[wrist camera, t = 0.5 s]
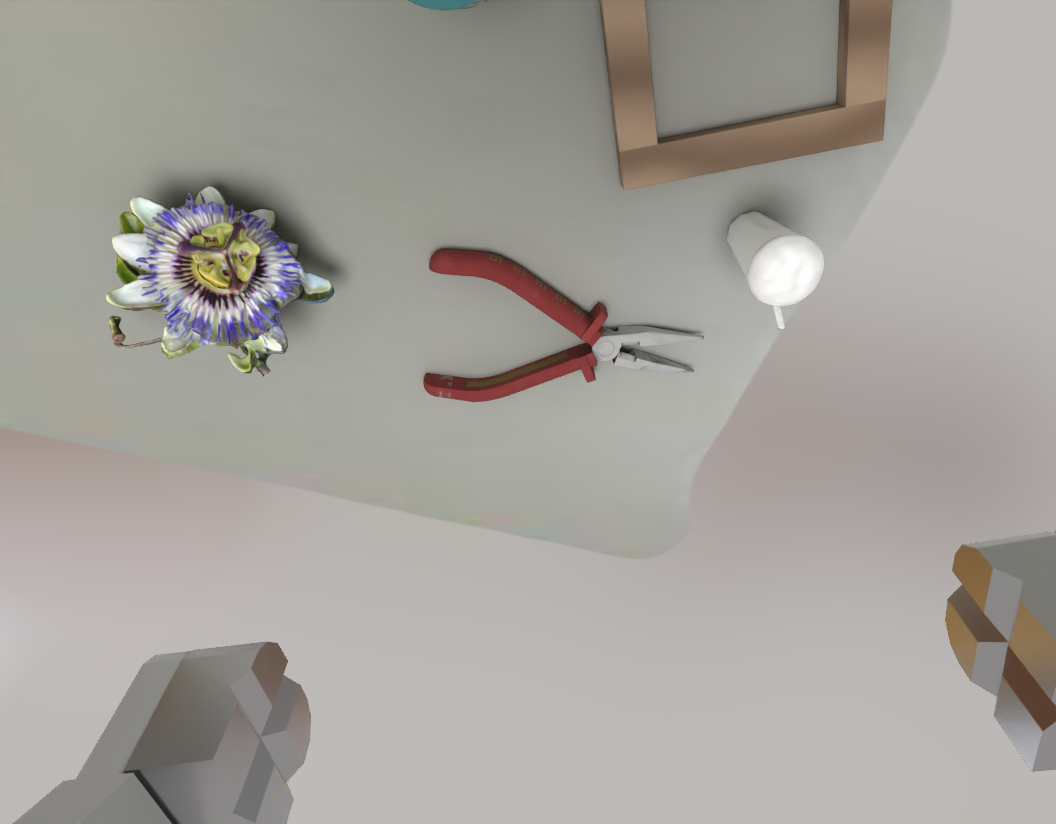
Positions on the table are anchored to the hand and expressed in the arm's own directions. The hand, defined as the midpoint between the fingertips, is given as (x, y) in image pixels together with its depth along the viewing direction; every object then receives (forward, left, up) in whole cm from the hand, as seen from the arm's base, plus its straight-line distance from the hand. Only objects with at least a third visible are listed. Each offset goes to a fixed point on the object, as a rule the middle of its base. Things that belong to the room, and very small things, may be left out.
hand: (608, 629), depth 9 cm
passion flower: (+6, -24, -44) cm, 50 cm away
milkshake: (+11, +13, -44) cm, 47 cm away
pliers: (+17, -2, -45) cm, 48 cm away
